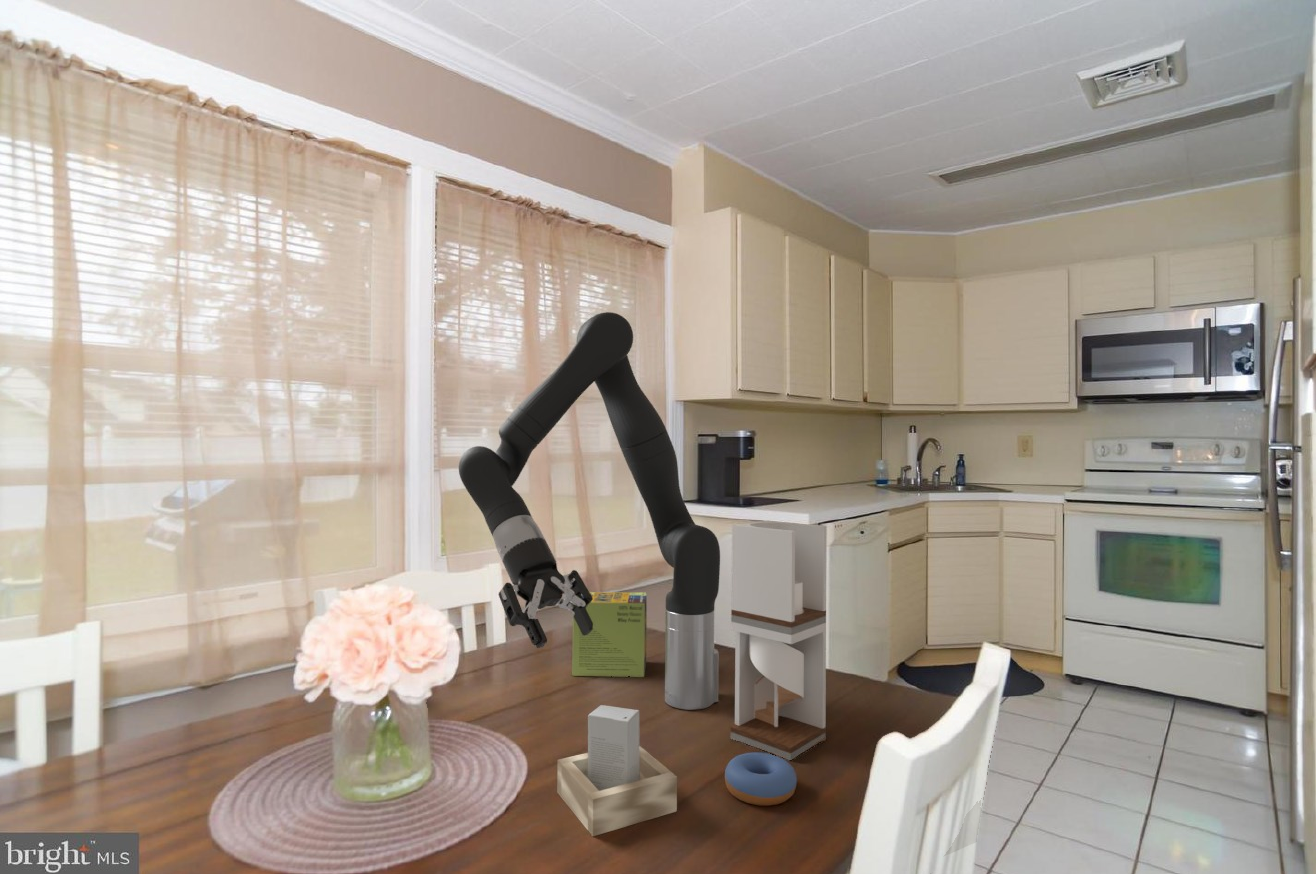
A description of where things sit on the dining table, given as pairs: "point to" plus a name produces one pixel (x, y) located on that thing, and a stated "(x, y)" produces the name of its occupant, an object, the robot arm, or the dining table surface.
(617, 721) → the skincare box
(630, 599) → the protein box
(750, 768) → the doughnut
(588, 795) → the frame
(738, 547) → the white shelf tower
